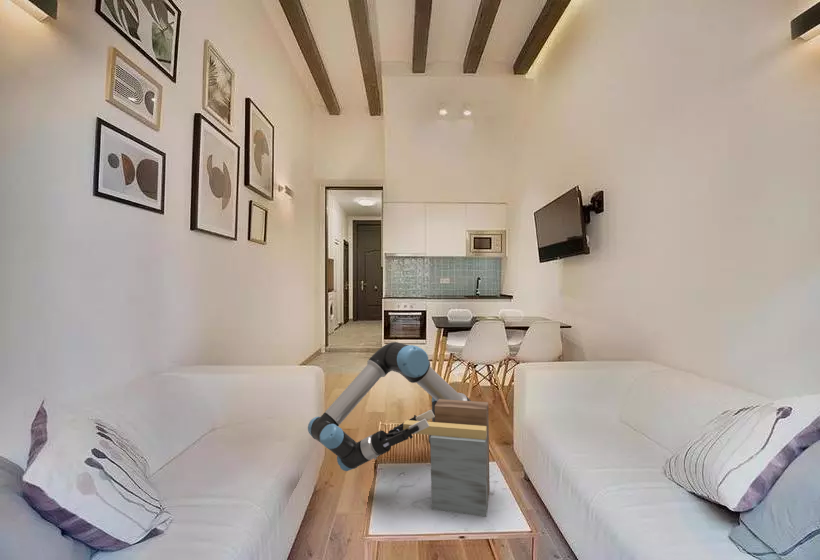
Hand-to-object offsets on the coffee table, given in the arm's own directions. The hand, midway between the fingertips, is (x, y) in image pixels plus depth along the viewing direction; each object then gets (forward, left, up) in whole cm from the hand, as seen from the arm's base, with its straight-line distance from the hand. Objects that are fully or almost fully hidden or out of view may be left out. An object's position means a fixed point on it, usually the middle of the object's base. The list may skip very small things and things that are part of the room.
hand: (430, 417), depth 137 cm
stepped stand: (-1, +11, -29) cm, 31 cm away
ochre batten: (+1, +5, -5) cm, 7 cm away
